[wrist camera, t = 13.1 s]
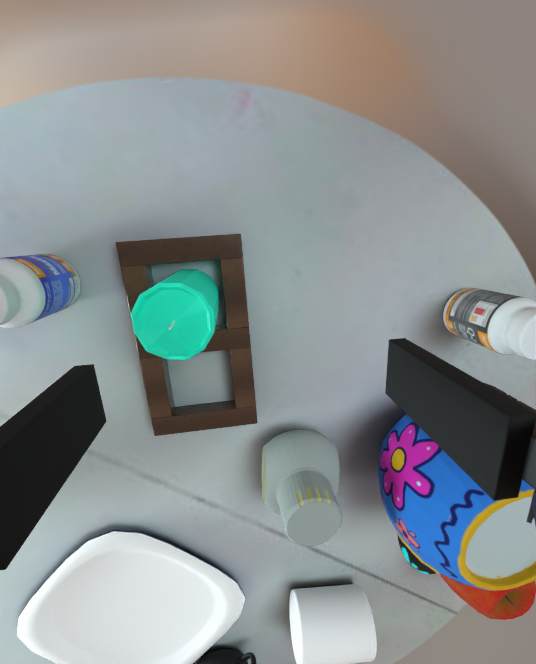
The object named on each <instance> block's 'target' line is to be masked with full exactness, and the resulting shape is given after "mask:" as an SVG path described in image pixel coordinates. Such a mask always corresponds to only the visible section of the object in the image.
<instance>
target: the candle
mask: <svg viewBox="0 0 536 664" xmlns="http://www.w3.org/2000/svg"><path fill="white" fill-rule="evenodd" d="M218 308H219V290H218V288H217V286H216V285H215V283H214V281H213V280H212V278H211V277H210V276H208V275H206V274H205V273H203V272H201V271H199V270H197V269H181V270H179V271H178V272H176V273H174V274H173V275H171V276H169V277H168V278H166V279H164V280H163V281H161V282H159V283H158V284H156V285H154V286H153V287H151V288H149V289H148V290H146V291H145V292H143V293H141V294H140V295H139V297H138V299H137V301H136V303H135V305H134V307H133V309H132V311H131V317H132V322H133V328H134V333H135V334H136V336H137V338H138V339H139V341H140V342H141V344H142V345H143V347H144V349H145V350H146V351H147V352H149V353H152V354H154V355H157V356H159V357H162V358H165V359H172V360H188V359H190V358H191V357H193V356H195V355H196V354H198V353H200V352H201V351H203V350H204V349H205V348H206V346H207V344H208V343H209V341H210V339H211V337H212V335H213V334H214V331H215V326H216V320H217V314H218Z"/></svg>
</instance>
